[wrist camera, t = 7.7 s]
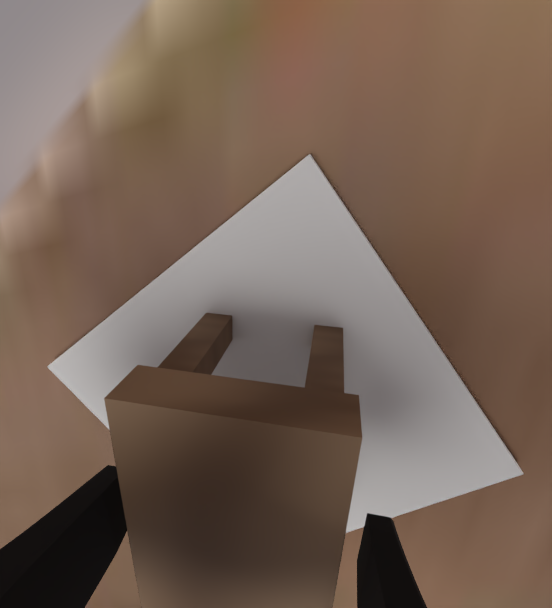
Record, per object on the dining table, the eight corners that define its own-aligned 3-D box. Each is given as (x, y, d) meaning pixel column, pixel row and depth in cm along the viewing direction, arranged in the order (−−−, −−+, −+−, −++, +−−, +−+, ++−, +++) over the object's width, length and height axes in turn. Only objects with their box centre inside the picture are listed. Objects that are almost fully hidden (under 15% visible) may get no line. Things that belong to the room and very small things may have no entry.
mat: (517, 463, 14) (523, 473, 13) (247, 556, 19) (244, 566, 18) (310, 154, 11) (309, 154, 10) (55, 360, 16) (47, 366, 15)
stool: (353, 320, 12) (362, 437, 7) (327, 504, 16) (320, 673, 10) (198, 304, 13) (104, 398, 8) (206, 482, 16) (145, 629, 11)
